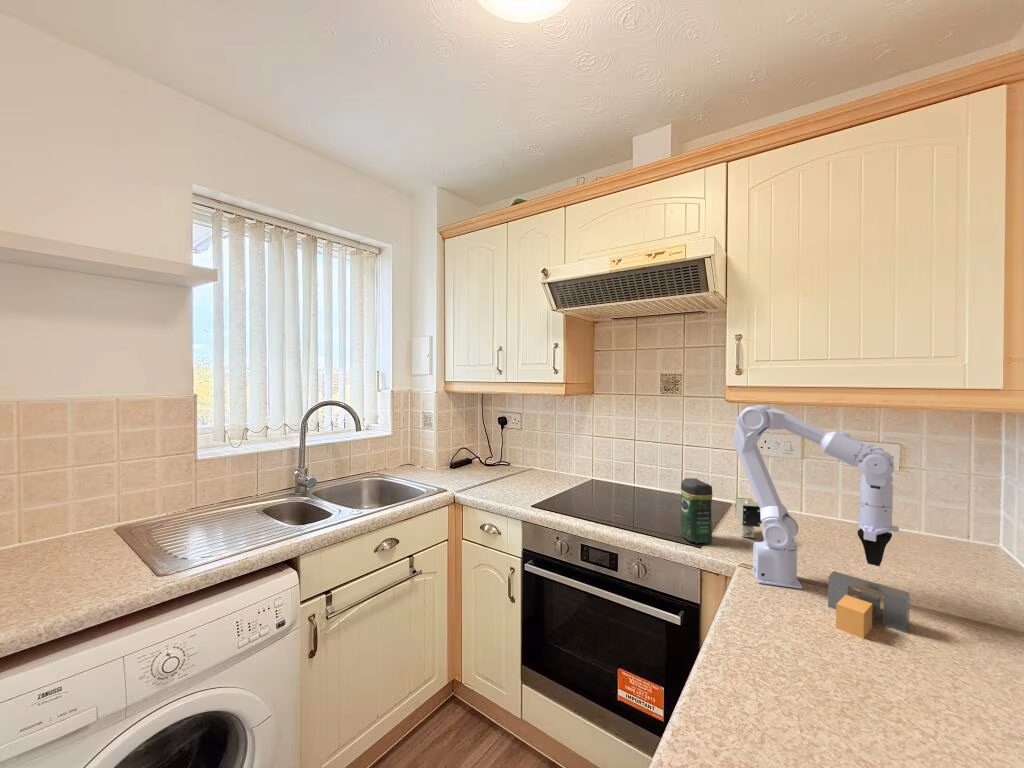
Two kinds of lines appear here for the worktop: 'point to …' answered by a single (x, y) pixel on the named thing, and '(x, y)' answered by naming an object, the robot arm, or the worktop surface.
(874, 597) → the plug
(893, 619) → the grey arch bracket
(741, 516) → the pneumatic valve
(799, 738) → the worktop surface
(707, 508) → the coffee jar
